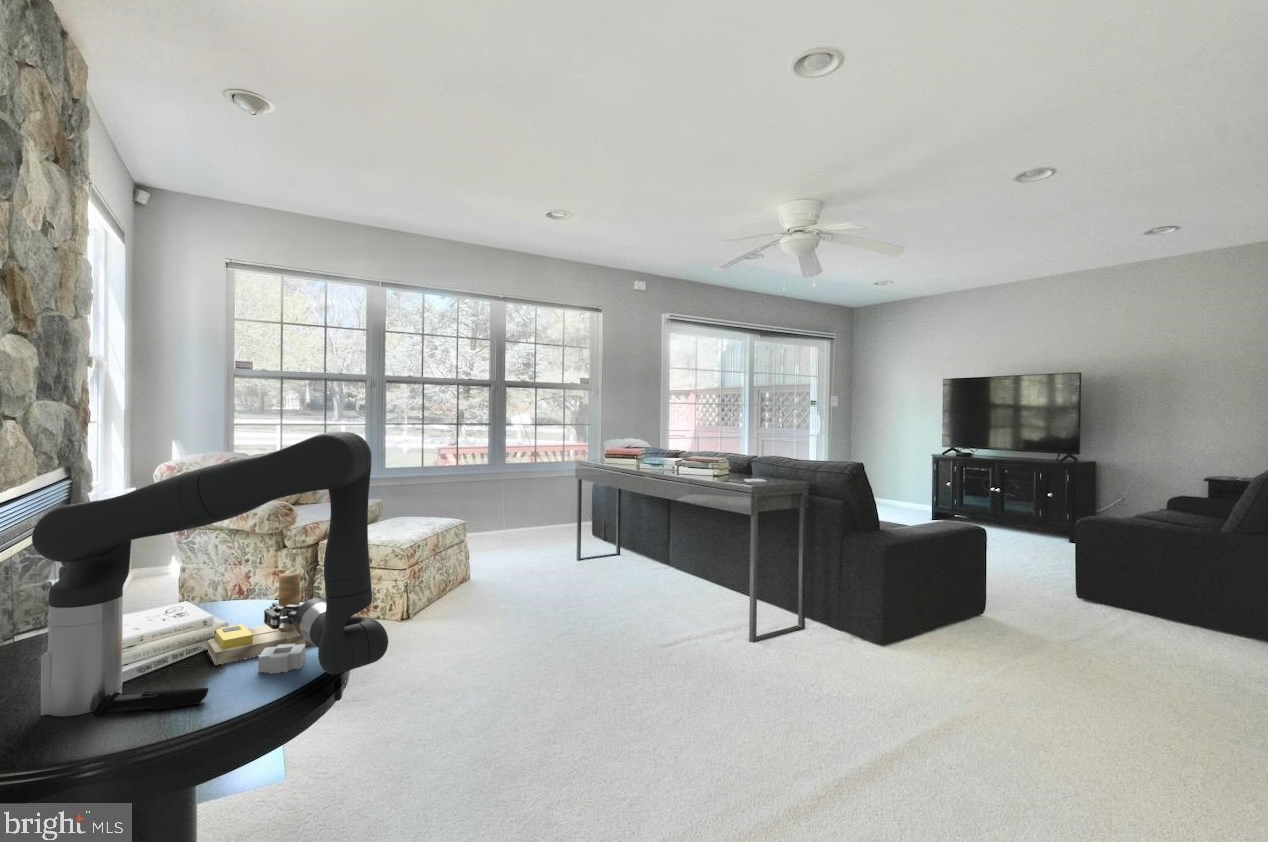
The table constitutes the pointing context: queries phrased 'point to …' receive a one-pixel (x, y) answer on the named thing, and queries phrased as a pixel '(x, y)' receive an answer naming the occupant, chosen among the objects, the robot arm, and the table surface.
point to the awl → (289, 593)
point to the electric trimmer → (150, 700)
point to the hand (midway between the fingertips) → (297, 603)
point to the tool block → (281, 658)
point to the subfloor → (254, 644)
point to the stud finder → (233, 636)
